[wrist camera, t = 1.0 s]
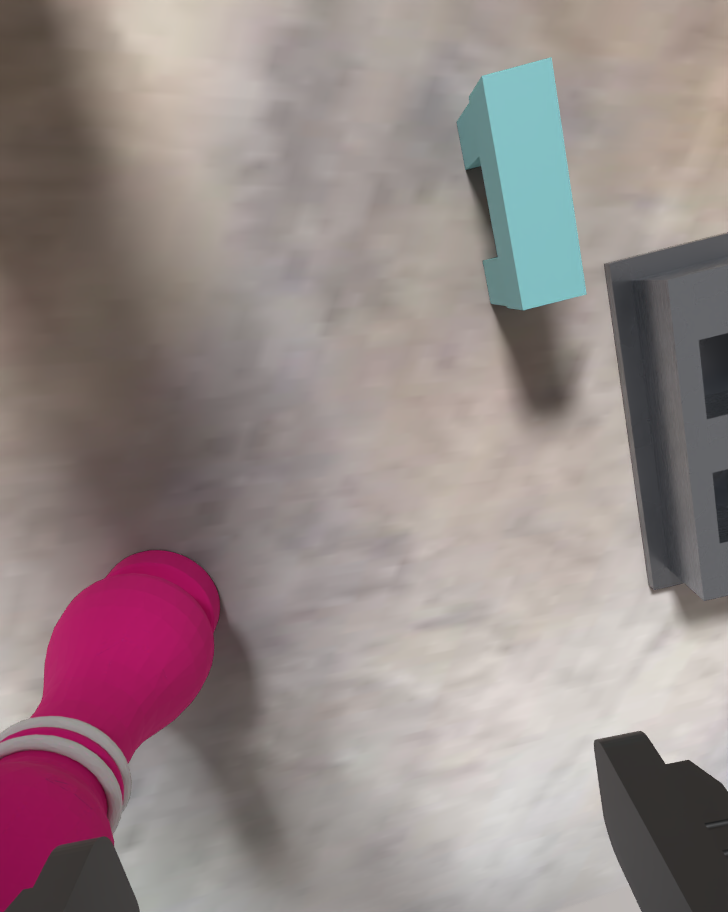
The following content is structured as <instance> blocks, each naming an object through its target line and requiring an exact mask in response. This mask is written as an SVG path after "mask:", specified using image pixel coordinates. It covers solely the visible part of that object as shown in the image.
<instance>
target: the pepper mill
mask: <svg viewBox="0 0 728 912" xmlns="http://www.w3.org/2000/svg"><path fill="white" fill-rule="evenodd" d="M219 614H220V599H219V595H218V592H217V589H216V587H215V585H214V583H213V581H212V579H211V578H210V577H209V575H208V574H207V573H206V571H205V570H204V569H203V568H202V567H200V566H199V565H198V564H197V563H195V562H194V561H192V560H190V559H189V558H187V557H185V556H183V555H180V554H177V553H174V552H169V551H161V550H150V551H144V552H140V553H136V554H133V555H131V556H129V557H127V558H125V559H124V560H122V561H121V562H120V563H118V564H117V565H116V566H115V567H114V568H113V569H112V570H111V572H110V573H109V574H108V575H107V576H106V578H105V579H102V580H100V581H97V582H95V583H94V584H92V585H90V586H89V587H87V588H86V589H84V590H83V591H82V592H81V593H79V594H78V595H77V596H76V597H75V598H74V599H73V600H72V601H71V603H70V604H69V605H68V606H67V608H66V610H65V611H64V613H63V614H62V616H61V618H60V619H59V621H58V623H57V624H56V626H55V627H54V630H53V633H52V636H51V639H50V642H49V645H48V648H47V654H46V659H45V668H44V689H43V697H42V700H41V703H40V705H39V706H38V708H37V709H36V711H35V713H34V714H33V715H32V716H31V717H30V718H29V719H26V720H23V721H20V722H18V723H16V724H14V725H12V726H10V727H8V728H7V729H5V730H4V731H3V732H2V733H0V912H4V911H5V910H6V909H7V907H8V906H9V905H10V904H11V903H12V902H13V901H14V899H15V898H16V897H17V896H18V895H19V894H20V892H21V891H22V890H23V889H28V888H33V886H34V884H35V882H36V880H37V878H38V876H39V874H40V873H41V871H42V869H43V867H44V865H45V863H46V861H47V859H48V857H49V855H50V854H51V852H52V851H53V850H54V849H55V848H56V847H57V846H59V845H62V844H67V843H72V842H77V841H82V840H87V839H92V838H97V837H103V836H105V837H108V838H109V839H110V840H111V841H112V843H113V845H114V839H113V833H114V832H115V830H116V828H117V826H118V824H119V821H120V819H121V814H122V812H123V811H124V809H125V808H126V806H127V803H128V801H129V798H130V794H131V787H132V780H131V773H130V769H129V766H128V763H129V761H130V760H131V758H132V756H133V754H134V752H135V750H136V749H137V748H138V747H139V746H140V745H141V744H142V743H143V742H144V741H145V740H146V739H148V738H149V737H151V736H152V735H154V734H155V733H157V732H158V731H160V730H161V729H163V728H164V727H165V726H167V725H168V724H170V723H171V722H172V721H174V720H175V719H176V718H177V717H178V716H179V715H180V714H181V713H182V712H183V711H184V710H185V709H186V708H187V707H188V706H189V705H190V704H191V702H192V701H193V700H194V698H195V697H196V696H197V694H198V693H199V691H200V690H201V688H202V686H203V684H204V682H205V680H206V678H207V676H208V674H209V671H210V669H211V666H212V661H213V656H214V637H213V633H214V630H215V628H216V625H217V623H218V620H219Z"/></svg>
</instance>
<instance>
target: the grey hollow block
mask: <svg viewBox="0 0 728 912" xmlns="http://www.w3.org/2000/svg"><path fill="white" fill-rule="evenodd" d="M604 266H605V273H606V280H607V287H608V295H609V302H610V309H611V316H612V323H613V331H614V338H615V345H616V352H617V360H618V367H619V374H620V381H621V388H622V396H623V403H624V410H625V417H626V424H627V432H628V439H629V446H630V453H631V460H632V468H633V475H634V482H635V489H636V496H637V504H638V511H639V518H640V525H641V532H642V540H643V547H644V554H645V561H646V568H647V576H648V583H649V586H650V587H651V588H652V589H653V590H656V589H661V588H665V587H669V586H674V585H678V584H682V583H685V584H686V585H687V586H688V587H689V588H690V589H691V590H692V591H693V592H695V593H696V594H697V595H698V596H699V597H700V598H701V599H702V600H703V601H706V600H710V599H715V598H719V597H723V596H728V232H727V233H723V234H719V235H716V236H712V237H708V238H704V239H700V240H696V241H692V242H688V243H684V244H680V245H676V246H672V247H668V248H664V249H660V250H657V251H653V252H649V253H645V254H641V255H637V256H633V257H629V258H625V259H621V260H617V261H613V262H609V263H605V264H604Z"/></svg>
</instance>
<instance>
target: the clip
mask: <svg viewBox="0 0 728 912" xmlns="http://www.w3.org/2000/svg"><path fill="white" fill-rule="evenodd" d="M457 127H458V132H459V138H460V143H461V148H462V154H463V159H464V164H465V170H468V169H471V168H475V167H479V166H481V168H482V173H483V179H484V184H485V190H486V195H487V201H488V206H489V212H490V217H491V223H492V228H493V234H494V239H495V245H496V250H497V256H498V257H495V258H492V259H488V260H484V261H483V265H484V270H485V276H486V281H487V286H488V292H489V297H490V302H491V304H496V305H503V306H507V308H511V309H518V310H526V309H530V308H534V307H538V306H542V305H546V304H550V303H554V302H558V301H562V300H566V299H570V298H574V297H578V296H582V295H586V288H585V281H584V274H583V267H582V261H581V254H580V247H579V240H578V234H577V227H576V220H575V213H574V206H573V200H572V193H571V186H570V179H569V173H568V166H567V159H566V152H565V146H564V139H563V132H562V125H561V119H560V112H559V105H558V98H557V92H556V85H555V78H554V71H553V65H552V58H547V59H543V60H540V61H536V62H532V63H528V64H525V65H521V66H517V67H514V68H510V69H506V70H503V71H499V72H495V73H491V74H488V75H484V76H482V77H481V78H480V80H479V82H478V83H477V85H476V86H475V88H474V89H473V91H472V93H471V94H470V96H469V104H468V105H467V107H466V108H465V110H464V111H463V113H462V115H461V116H460V118H459V119H458V121H457Z"/></svg>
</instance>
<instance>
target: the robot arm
mask: <svg viewBox="0 0 728 912" xmlns="http://www.w3.org/2000/svg"><path fill="white" fill-rule="evenodd" d="M594 752H595V759H596V766H597V773H598V781H599V788H600V795H601V802H602V809H603V816H604V820H605V824H606V828H607V832H608V835H609V838H610V841H611V844H612V847H613V850H614V852H615V855H616V857H617V859H618V862H619V864H620V866H621V868H622V870H623V872H624V875H625V877H626V879H627V881H628V883H629V885H630V887H631V889H632V892H633V894H634V896H635V898H636V900H637V903H638V905H639V907H640V909H641V911H642V912H728V791H727V790H726V789H725V787H724V786H723V784H722V783H720V782H719V781H718V780H716V779H715V778H713V777H712V776H711V775H709V774H708V773H706V772H705V771H704V770H702V769H701V768H699V767H698V766H697V765H695V764H694V763H692V762H691V761H690V760H685V761H680V762H675V763H670V764H665V763H664V761H663V760H662V758H661V757H660V755H659V754H658V752H657V750H656V749H655V747H654V746H653V744H652V743H651V741H650V740H649V738H648V737H647V736H646V734H645V733H643V732H642V731H637V732H632V733H627V734H622V735H617V736H612V737H607V738H602V739H597V740H595V741H594ZM4 912H140V910H139V906H138V903H137V900H136V897H135V895H134V893H133V890H132V888H131V886H130V883H129V881H128V878H127V876H126V874H125V871H124V869H123V867H122V864H121V862H120V859H119V857H118V855H117V852H116V850H115V848H114V845H113V843H112V841H111V840H110V839H109V838H108V837H105V836H103V837H97V838H92V839H87V840H82V841H77V842H72V843H67V844H62V845H59V846H57V847H56V848H55V849H54V850H53V851H52V852H51V854H50V855H49V857H48V859H47V861H46V863H45V865H44V867H43V869H42V871H41V873H40V874H39V876H38V878H37V880H36V882H35V884H34V886H33V888H28V889H23V890H22V891H21V892H20V894H19V895H18V896H17V897H16V898H15V899H14V901H13V902H12V903H11V904H10V905H9V906H8V907H7V909H6V910H5V911H4Z"/></svg>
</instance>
